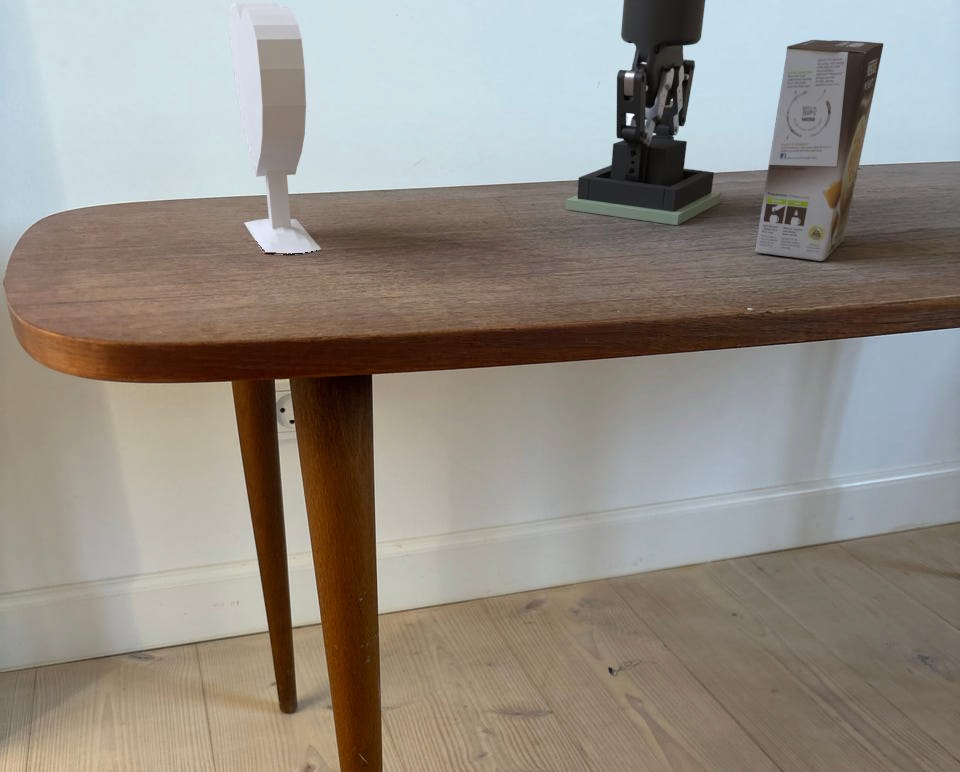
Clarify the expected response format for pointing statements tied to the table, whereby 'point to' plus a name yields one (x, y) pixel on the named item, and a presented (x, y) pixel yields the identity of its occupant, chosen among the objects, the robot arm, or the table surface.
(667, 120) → the robot arm
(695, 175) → the base pad
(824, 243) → the coffee box
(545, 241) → the table surface
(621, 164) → the black block
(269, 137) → the heart sculpture
